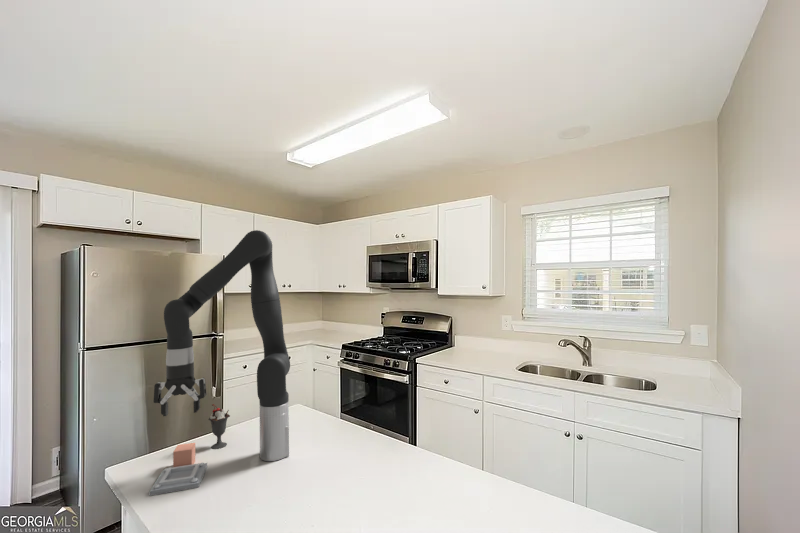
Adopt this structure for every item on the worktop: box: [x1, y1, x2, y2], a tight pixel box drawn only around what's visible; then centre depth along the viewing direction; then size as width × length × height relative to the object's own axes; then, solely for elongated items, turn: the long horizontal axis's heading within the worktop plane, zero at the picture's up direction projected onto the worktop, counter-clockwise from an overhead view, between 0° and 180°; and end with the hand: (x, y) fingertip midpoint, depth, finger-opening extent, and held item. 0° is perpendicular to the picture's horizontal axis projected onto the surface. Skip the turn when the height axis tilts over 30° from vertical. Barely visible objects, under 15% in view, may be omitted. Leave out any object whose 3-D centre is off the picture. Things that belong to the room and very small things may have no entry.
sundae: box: [208, 403, 231, 450], centre depth 129 cm, size 7×7×15 cm
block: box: [172, 442, 196, 467], centre depth 115 cm, size 5×5×6 cm
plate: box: [149, 462, 208, 496], centre depth 107 cm, size 12×12×2 cm
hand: (180, 413), depth 115 cm, fingers open, 8 cm apart
